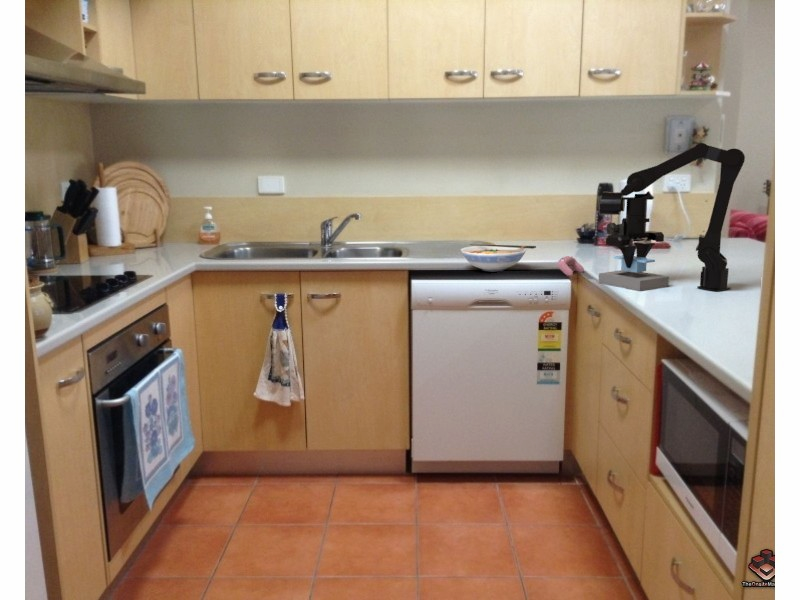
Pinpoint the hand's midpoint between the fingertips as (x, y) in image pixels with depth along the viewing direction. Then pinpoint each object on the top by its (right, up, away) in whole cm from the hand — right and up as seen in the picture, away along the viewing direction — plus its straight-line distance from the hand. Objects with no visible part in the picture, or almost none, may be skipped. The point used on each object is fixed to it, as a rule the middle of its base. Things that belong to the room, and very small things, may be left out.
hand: (633, 267), depth 199 cm
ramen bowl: (-38, 0, +33) cm, 50 cm away
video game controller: (-13, -1, +23) cm, 26 cm away
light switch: (0, -5, +1) cm, 5 cm away
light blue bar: (0, -1, 0) cm, 1 cm away
